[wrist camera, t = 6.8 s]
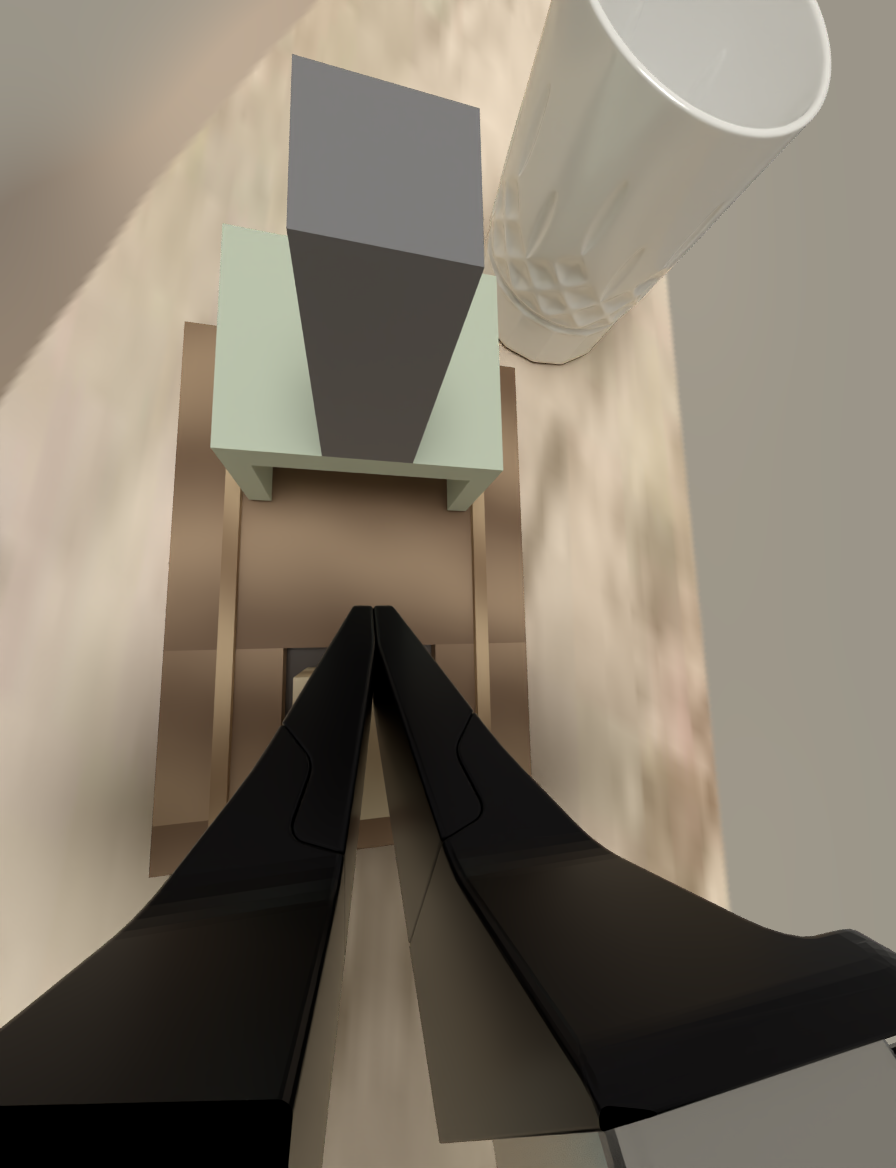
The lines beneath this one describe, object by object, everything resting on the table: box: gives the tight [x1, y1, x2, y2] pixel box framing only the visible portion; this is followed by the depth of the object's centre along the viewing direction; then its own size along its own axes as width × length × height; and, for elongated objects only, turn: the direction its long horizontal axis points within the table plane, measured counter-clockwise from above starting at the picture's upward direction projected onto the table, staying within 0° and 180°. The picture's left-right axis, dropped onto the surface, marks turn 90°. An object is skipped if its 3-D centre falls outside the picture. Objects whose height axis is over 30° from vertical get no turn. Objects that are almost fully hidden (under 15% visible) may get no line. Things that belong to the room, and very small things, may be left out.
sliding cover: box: [210, 54, 503, 511], centre depth 11 cm, size 6×8×11 cm
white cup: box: [482, 0, 831, 364], centre depth 15 cm, size 8×8×10 cm
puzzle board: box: [149, 322, 531, 878], centre depth 16 cm, size 19×13×1 cm
